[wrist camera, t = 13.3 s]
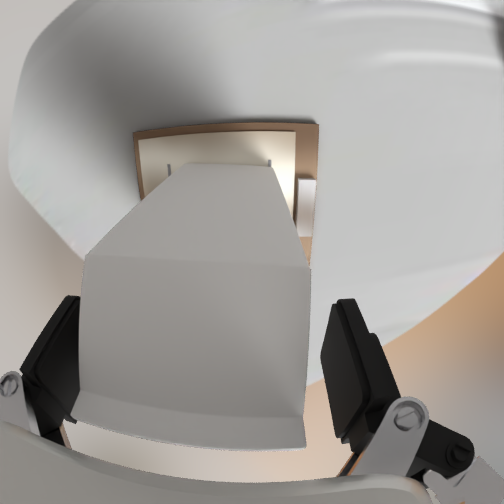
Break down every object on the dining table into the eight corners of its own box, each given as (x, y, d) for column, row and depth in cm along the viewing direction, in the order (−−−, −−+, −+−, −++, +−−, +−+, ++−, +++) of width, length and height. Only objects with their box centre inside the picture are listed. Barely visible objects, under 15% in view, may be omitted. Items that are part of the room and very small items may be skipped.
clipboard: (135, 132, 20) (129, 133, 19) (317, 124, 20) (321, 124, 19) (157, 274, 27) (153, 281, 26) (307, 272, 27) (309, 279, 26)
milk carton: (184, 162, 21) (15, 338, 4) (273, 166, 21) (347, 381, 4) (186, 241, 24) (107, 454, 8) (265, 246, 24) (285, 476, 8)
